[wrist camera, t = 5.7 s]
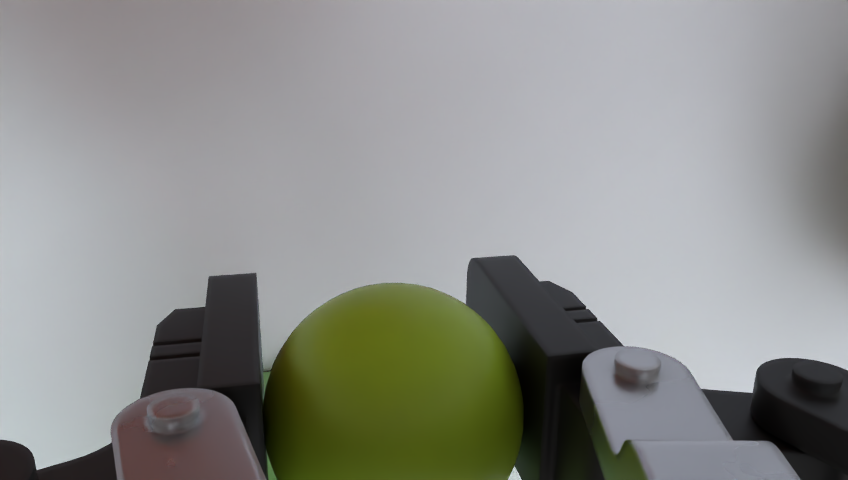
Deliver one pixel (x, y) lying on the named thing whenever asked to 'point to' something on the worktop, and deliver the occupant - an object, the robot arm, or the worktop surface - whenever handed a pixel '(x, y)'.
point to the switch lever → (393, 392)
